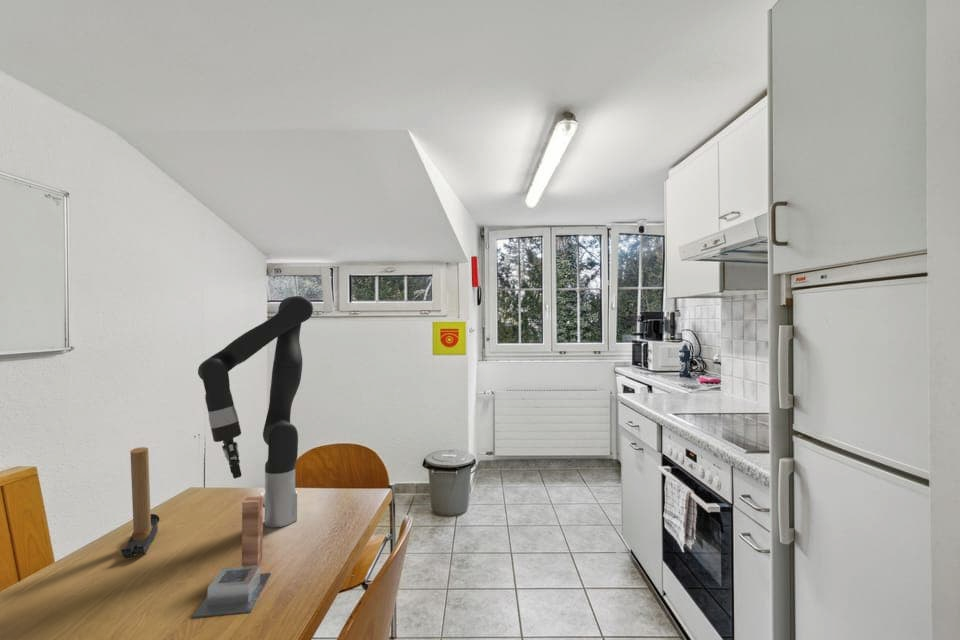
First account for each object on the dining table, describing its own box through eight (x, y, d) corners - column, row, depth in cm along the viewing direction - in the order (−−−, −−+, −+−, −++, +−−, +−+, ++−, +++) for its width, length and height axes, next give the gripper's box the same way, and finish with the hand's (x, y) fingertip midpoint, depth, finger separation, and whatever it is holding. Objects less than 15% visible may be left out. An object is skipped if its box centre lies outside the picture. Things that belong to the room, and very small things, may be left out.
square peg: (246, 563, 124) (247, 497, 125) (262, 562, 125) (262, 496, 125) (241, 571, 120) (242, 502, 121) (257, 570, 121) (258, 501, 121)
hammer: (144, 565, 128) (140, 465, 123) (121, 569, 126) (117, 467, 121) (160, 524, 146) (157, 435, 141) (141, 527, 144) (137, 437, 139)
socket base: (221, 581, 117) (221, 561, 117) (270, 576, 119) (271, 557, 119) (192, 620, 101) (192, 597, 101) (250, 614, 103) (250, 592, 103)
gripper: (240, 421, 135) (252, 474, 135) (236, 417, 147) (247, 466, 147) (211, 429, 131) (224, 484, 131) (209, 424, 143) (221, 475, 143)
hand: (236, 474), depth 139 cm, fingers open, 8 cm apart
